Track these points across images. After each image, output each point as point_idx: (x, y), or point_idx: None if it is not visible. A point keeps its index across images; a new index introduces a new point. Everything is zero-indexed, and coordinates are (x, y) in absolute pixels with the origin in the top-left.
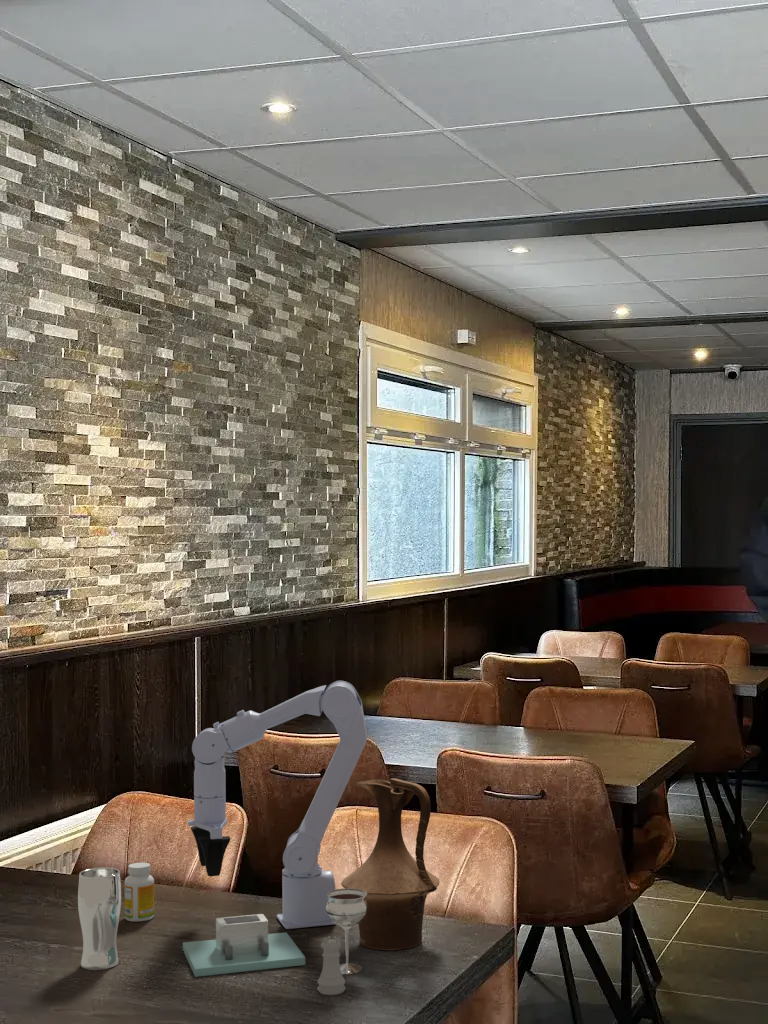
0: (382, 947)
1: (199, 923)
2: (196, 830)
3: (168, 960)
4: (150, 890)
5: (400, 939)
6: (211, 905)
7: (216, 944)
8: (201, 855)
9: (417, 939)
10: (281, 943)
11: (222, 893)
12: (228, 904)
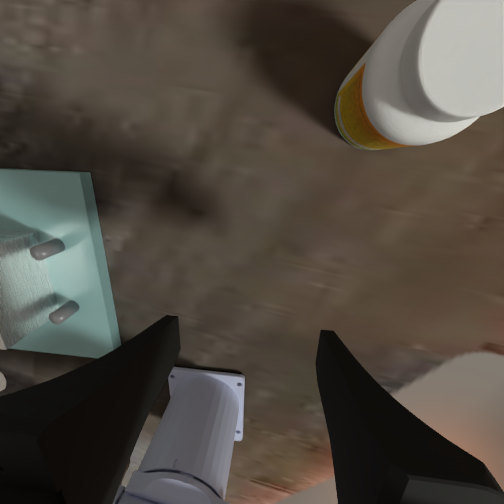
0: None
1: (263, 243)
2: (383, 486)
3: (27, 129)
4: (364, 125)
5: None
6: (388, 296)
7: (23, 233)
8: (330, 359)
9: None
10: (58, 337)
11: (470, 338)
12: (375, 327)
